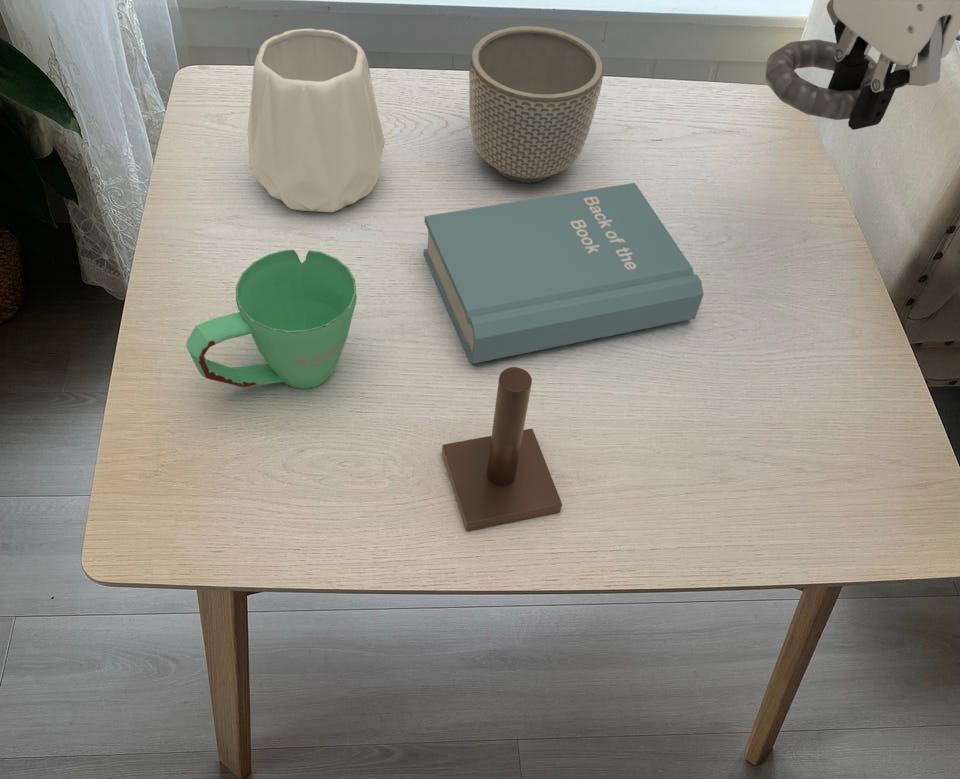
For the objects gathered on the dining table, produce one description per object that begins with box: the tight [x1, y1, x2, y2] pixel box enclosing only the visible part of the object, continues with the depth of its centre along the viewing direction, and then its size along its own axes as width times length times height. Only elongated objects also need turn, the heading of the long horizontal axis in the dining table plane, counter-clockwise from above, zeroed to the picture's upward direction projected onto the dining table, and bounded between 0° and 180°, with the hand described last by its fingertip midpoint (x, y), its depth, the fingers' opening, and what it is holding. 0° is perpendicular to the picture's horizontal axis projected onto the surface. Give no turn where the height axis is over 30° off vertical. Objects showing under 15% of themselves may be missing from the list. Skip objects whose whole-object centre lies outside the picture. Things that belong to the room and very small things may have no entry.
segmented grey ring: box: [765, 39, 878, 121], centre depth 86 cm, size 11×11×2 cm
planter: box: [468, 25, 605, 184], centre depth 102 cm, size 14×14×13 cm
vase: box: [247, 28, 386, 213], centre depth 97 cm, size 14×14×15 cm
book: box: [423, 182, 704, 364], centre depth 93 cm, size 23×16×5 cm
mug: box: [185, 249, 358, 390], centre depth 81 cm, size 15×10×10 cm
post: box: [441, 366, 563, 532], centre depth 74 cm, size 8×8×13 cm
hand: (850, 112), depth 84 cm, fingers closed on segmented grey ring, 2 cm apart
